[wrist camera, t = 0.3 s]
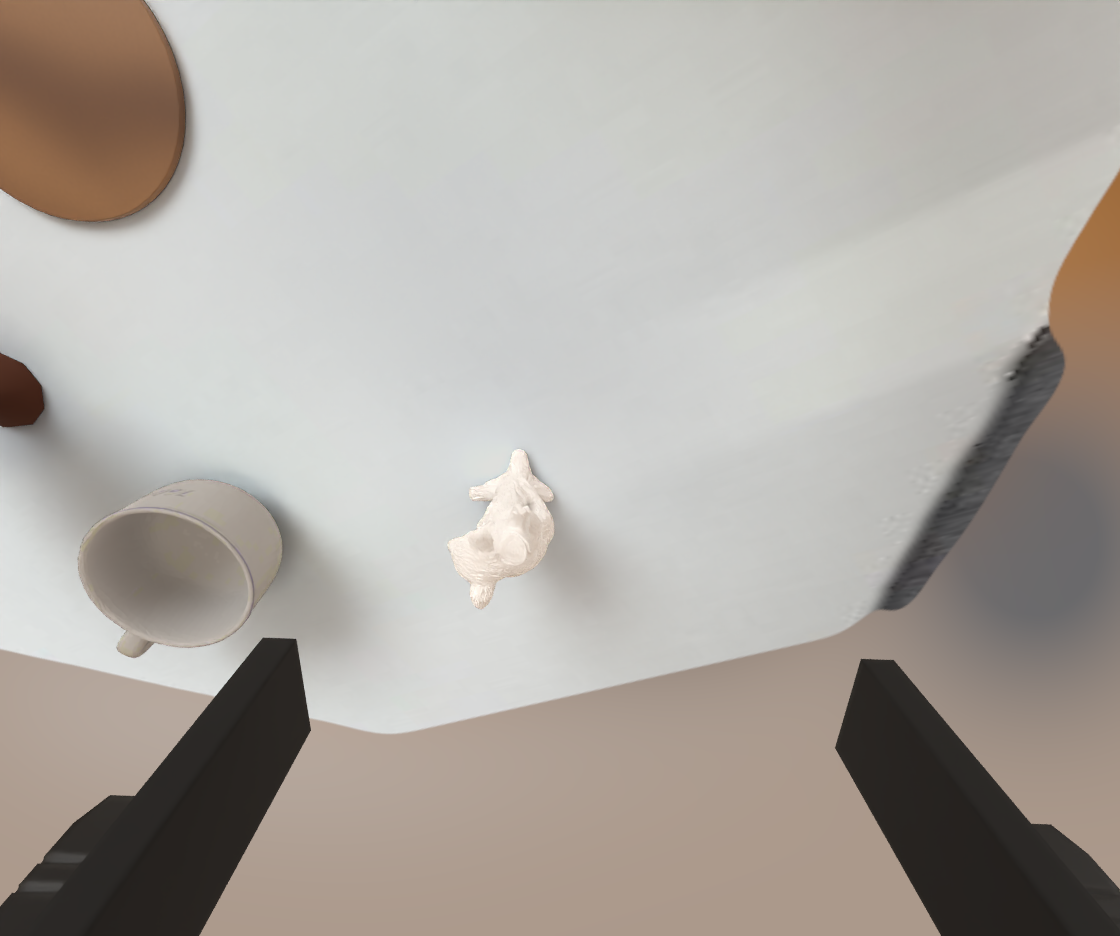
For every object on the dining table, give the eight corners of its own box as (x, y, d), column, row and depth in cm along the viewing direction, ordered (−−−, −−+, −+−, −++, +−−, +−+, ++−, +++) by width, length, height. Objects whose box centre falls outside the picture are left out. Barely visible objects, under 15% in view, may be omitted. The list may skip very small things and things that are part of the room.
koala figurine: (501, 424, 39) (476, 487, 28) (581, 464, 40) (588, 541, 29) (454, 516, 42) (414, 608, 31) (531, 552, 43) (519, 653, 32)
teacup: (217, 436, 40) (137, 476, 32) (330, 534, 43) (281, 592, 35) (113, 546, 43) (19, 605, 36) (225, 630, 46) (159, 701, 38)
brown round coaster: (-120, -86, 29) (-133, -93, 29) (156, -70, 30) (149, -76, 29) (-28, 215, 35) (-38, 214, 34) (206, 228, 35) (200, 227, 34)
